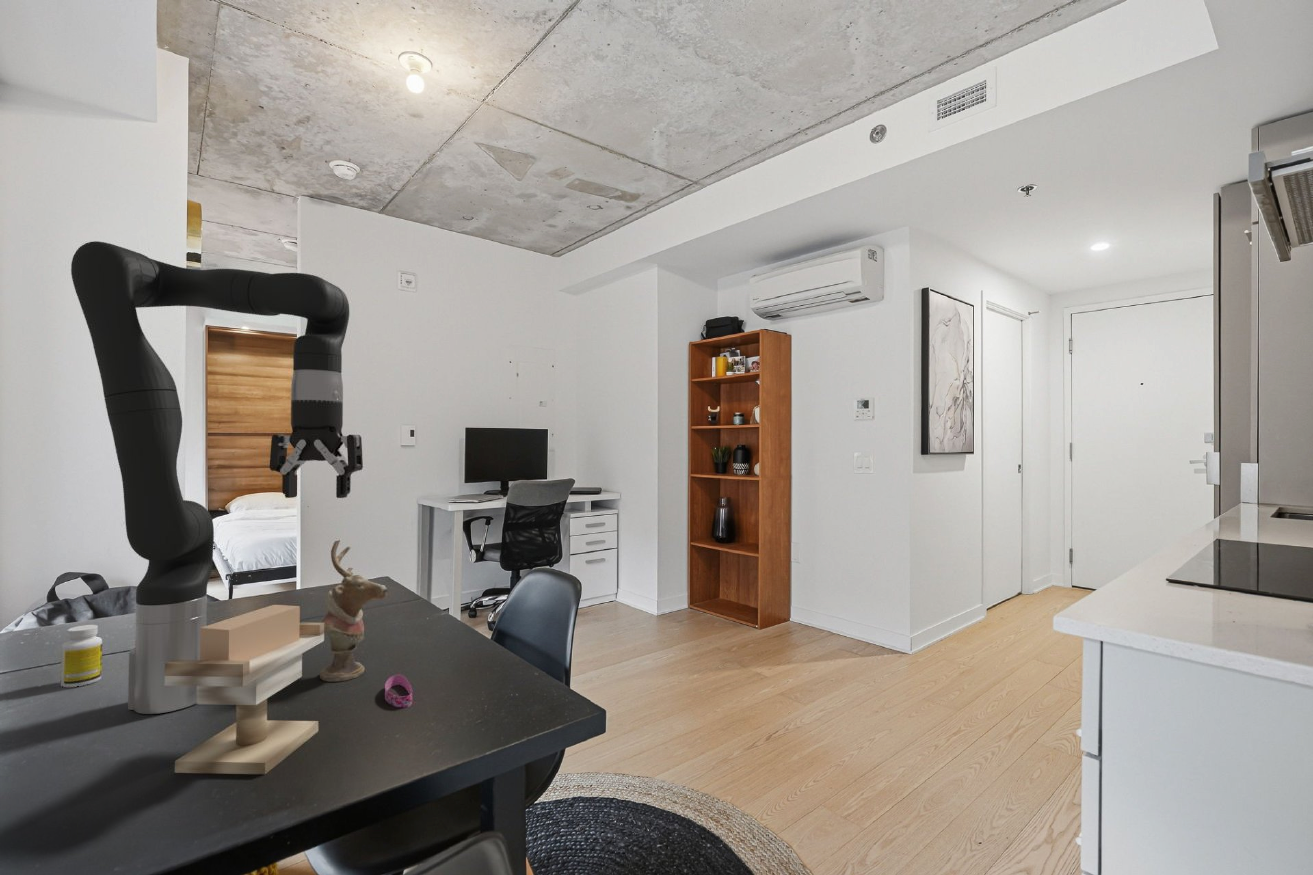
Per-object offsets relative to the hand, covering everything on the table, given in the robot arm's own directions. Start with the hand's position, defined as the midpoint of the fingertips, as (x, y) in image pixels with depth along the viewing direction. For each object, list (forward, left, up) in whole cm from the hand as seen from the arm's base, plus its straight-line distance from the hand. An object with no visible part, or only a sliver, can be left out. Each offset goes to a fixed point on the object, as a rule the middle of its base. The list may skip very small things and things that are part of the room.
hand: (316, 497), depth 101 cm
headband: (+12, +4, -35) cm, 37 cm away
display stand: (0, -15, -34) cm, 37 cm away
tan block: (0, -15, -20) cm, 25 cm away
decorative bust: (-1, +13, -34) cm, 37 cm away
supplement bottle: (-47, +8, -34) cm, 59 cm away
